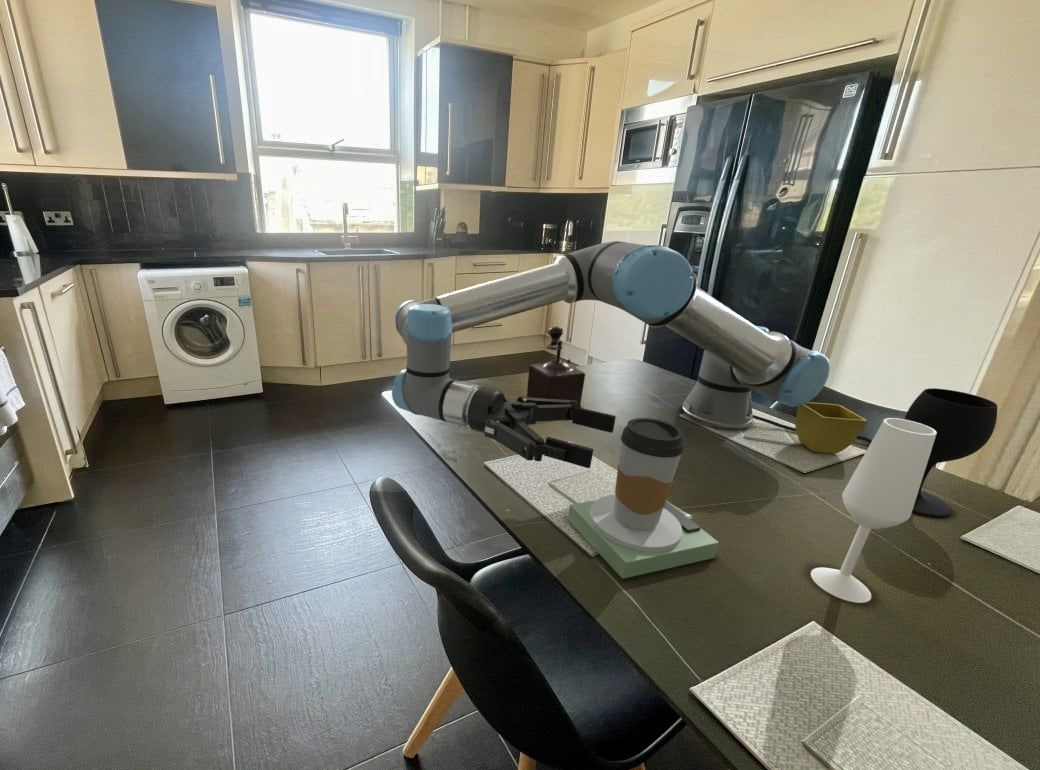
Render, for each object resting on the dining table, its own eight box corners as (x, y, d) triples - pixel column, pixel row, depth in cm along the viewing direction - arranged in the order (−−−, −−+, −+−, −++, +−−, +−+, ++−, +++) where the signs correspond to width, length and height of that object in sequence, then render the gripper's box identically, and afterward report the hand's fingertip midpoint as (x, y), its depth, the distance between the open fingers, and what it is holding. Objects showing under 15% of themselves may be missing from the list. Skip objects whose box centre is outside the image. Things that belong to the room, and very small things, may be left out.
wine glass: (935, 493, 90) (984, 393, 82) (963, 524, 81) (1021, 415, 73) (865, 479, 93) (906, 382, 86) (885, 507, 85) (932, 402, 77)
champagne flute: (853, 608, 62) (930, 442, 53) (799, 574, 68) (861, 419, 59) (882, 594, 65) (960, 433, 56) (828, 562, 71) (891, 411, 62)
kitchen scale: (648, 504, 83) (653, 486, 82) (714, 557, 71) (720, 537, 69) (567, 519, 78) (570, 499, 77) (622, 579, 66) (627, 557, 65)
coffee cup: (662, 509, 75) (684, 422, 70) (667, 542, 68) (691, 446, 62) (606, 498, 78) (623, 412, 72) (605, 528, 70) (623, 435, 65)
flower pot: (826, 440, 109) (840, 404, 106) (853, 459, 101) (868, 420, 98) (785, 437, 110) (797, 401, 107) (808, 456, 102) (822, 417, 99)
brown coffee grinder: (583, 408, 122) (594, 338, 116) (545, 412, 119) (554, 341, 112) (551, 387, 136) (559, 324, 129) (516, 390, 132) (522, 326, 126)
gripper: (504, 405, 93) (617, 433, 83) (436, 456, 73) (575, 501, 63) (507, 367, 90) (625, 392, 80) (438, 410, 70) (583, 450, 60)
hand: (603, 440), depth 72 cm, fingers open, 13 cm apart
